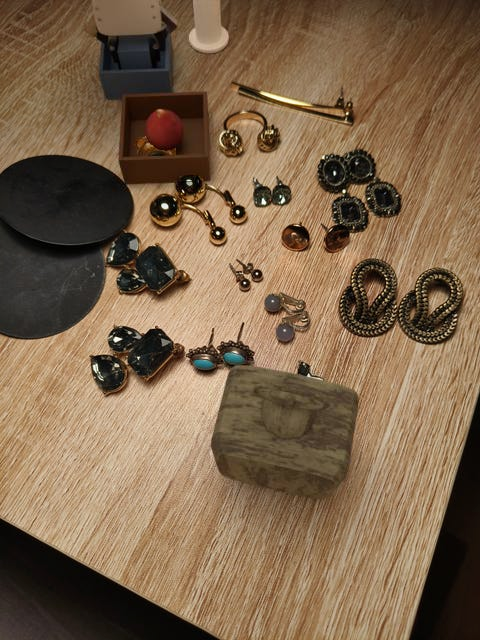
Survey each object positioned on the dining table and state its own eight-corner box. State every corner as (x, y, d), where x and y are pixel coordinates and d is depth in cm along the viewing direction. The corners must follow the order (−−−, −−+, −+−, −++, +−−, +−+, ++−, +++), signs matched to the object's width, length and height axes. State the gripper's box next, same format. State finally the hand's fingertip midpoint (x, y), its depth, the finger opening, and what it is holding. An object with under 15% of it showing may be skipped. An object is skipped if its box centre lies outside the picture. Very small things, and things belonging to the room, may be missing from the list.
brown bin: (124, 184, 92) (118, 160, 87) (128, 120, 98) (122, 94, 93) (210, 181, 92) (208, 156, 87) (208, 117, 98) (206, 91, 93)
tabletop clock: (341, 437, 74) (383, 361, 52) (330, 510, 71) (369, 463, 48) (229, 412, 76) (222, 328, 53) (211, 482, 72) (196, 424, 50)
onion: (169, 128, 96) (163, 89, 89) (193, 148, 94) (188, 109, 87) (141, 146, 95) (133, 108, 88) (164, 167, 93) (158, 130, 86)
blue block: (123, 76, 100) (117, 51, 95) (124, 55, 102) (118, 30, 97) (153, 75, 100) (148, 50, 95) (153, 54, 102) (149, 28, 97)
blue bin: (105, 99, 100) (98, 73, 95) (109, 53, 105) (102, 25, 100) (172, 97, 100) (168, 70, 95) (172, 50, 105) (169, 23, 100)
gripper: (177, -61, 86) (188, 47, 102) (59, -56, 86) (89, 50, 102) (177, -27, 83) (189, 78, 99) (54, -23, 82) (86, 82, 99)
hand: (138, 63), depth 100 cm, fingers closed on blue block, 5 cm apart
